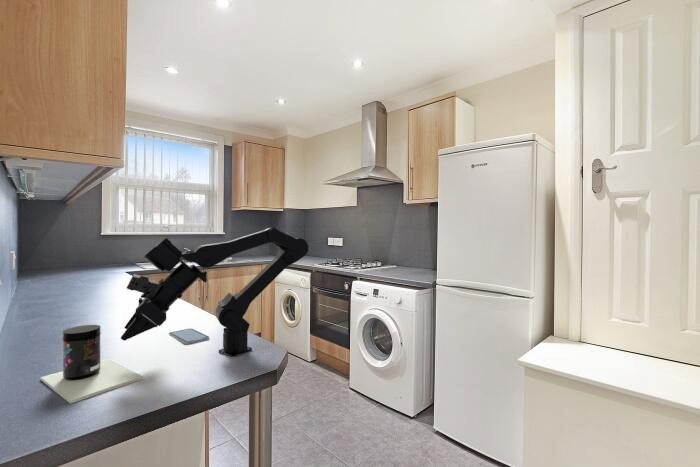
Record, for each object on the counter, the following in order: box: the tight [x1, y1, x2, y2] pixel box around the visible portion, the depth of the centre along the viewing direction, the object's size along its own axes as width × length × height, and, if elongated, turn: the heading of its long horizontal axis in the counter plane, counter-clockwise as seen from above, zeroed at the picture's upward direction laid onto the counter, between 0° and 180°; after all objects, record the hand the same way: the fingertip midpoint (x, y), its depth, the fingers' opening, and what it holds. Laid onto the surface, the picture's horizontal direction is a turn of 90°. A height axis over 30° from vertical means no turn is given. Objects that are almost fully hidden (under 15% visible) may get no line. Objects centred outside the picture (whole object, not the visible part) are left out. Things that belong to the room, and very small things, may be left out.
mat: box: [40, 358, 144, 405], centre depth 74 cm, size 18×13×1 cm
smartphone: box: [168, 328, 210, 345], centre depth 104 cm, size 7×1×15 cm
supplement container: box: [61, 324, 102, 380], centre depth 75 cm, size 7×7×10 cm
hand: (124, 333), depth 79 cm, fingers open, 9 cm apart
